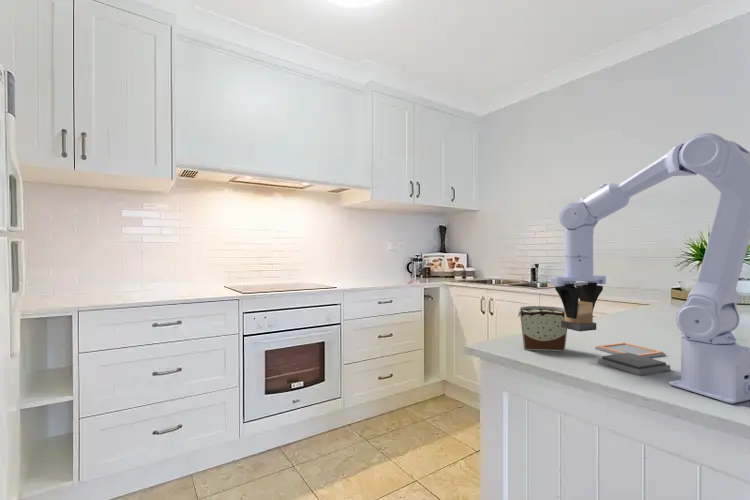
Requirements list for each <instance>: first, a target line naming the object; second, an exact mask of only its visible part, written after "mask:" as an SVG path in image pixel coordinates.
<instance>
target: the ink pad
mask: <svg viewBox="0 0 750 500" xmlns="http://www.w3.org/2000/svg"><path fill="white" fill-rule="evenodd" d="M597 359H598V360H597V362H598V364H601V365H605V366H607V367H611V368H615V369H618V370H621V371H624V372H626V373H631V374H634V375H637V376H645V375H649V374H651V375H652V374H655V373H660V372H661V373H662V372H667V371H671V365H670V364H667V363H666V361H661V360H659V359H654V358H647V357H643V356H639V355H635V354H632V353H621V354H608V355H602V356H601V357H598V358H597Z"/></svg>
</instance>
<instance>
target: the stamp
mask: <svg viewBox="0 0 750 500" xmlns="http://www.w3.org/2000/svg"><path fill="white" fill-rule="evenodd" d="M563 309H564V308H563ZM593 313H594V309H593V303H591V302H584V301H580V300H578V309H577V317H576V318H575V319H573V318H568V317H567V316H566V313H565V309H564V321H561V327H562V328H566V329H567V330H572V331H576V332H587V331H597V323H596V322H594V321H593V320H594V319H593V316H594V314H593Z"/></svg>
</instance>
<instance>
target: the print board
mask: <svg viewBox="0 0 750 500" xmlns="http://www.w3.org/2000/svg"><path fill="white" fill-rule="evenodd" d="M594 349H595V350H598V351H600V352H601V351H602V352H606V353H609V354H611V355H614V354H621V353H632V354H635V355H639V356H643V357H647V358H651V359H653V358H655V357H656V358H658V357H663V356H666V353H665V352H664V351H663V350H662V351H661V350H657V349H652V348H648V347H645V346H640V345H636V344H633V343H632V344H631V343H628V342H616V343H610V344H602V345H601V344H600V345H596V346H595V347H594Z"/></svg>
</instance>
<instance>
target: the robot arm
mask: <svg viewBox="0 0 750 500" xmlns="http://www.w3.org/2000/svg"><path fill="white" fill-rule="evenodd" d="M697 175H700V176H702V177H703V178H705V179H706V180H707V181H708V182H709V183H710V184H712V185H713V187H715V188H716V189H717V190H718V191H719V192H720V196H719V199H718V203H717V207H716V211H715V215H714V217H713V220H712V221H713V222H712V224H711V230H710V232H709V237H708V241H707V245H706V247H705V251H704V255H703V259H702V263H701V265H700V269H699V270H700V271H699V274H698V278H697V280H696V281H697V282H696V283H695V285H694V286H693V287H692V289H691V290H690V292H689V293H688V295H687V299H686V301H685V303H684V304H683V305H682V306H681V307H679V309H678V310H677V311H676V314H675V322H676V326H677V327H678V329H679V330H680V332H681V334H680V335H681V336H680V337H681V338H680V339H681V340H680V341H681V342H680V350H681V351H680V352H681V353H680V355H681V356H680V357H681V358H680V362H681V363H680V369H681V370H680V377H681V378H680V379H677V380H672V381H669V382H668V383H669V385H670V386H674V387H677V388H680V389H683V390H686V391H690V392H693V393H696V394H699V395H702V396H706V397H709V398H712V399H716V400H717V401H722V402H724V403H728V404H731V405H732V404H737V403H742V402H746V401H750V347H747V346H743V345H741V344H739V343H737V342H736V340H737V338H736V337H735V335H734V333H732V332H733V331H734V330H736V329H737V328H738V326H739V323H740V319H741V318H740V315H739V312H738V308H737V305H738V301H739V295H738V291H737V286H738V282H739V279H740V276H741V272H742V268H743V264H744V262H745V259H746V254H747V251H748V247H749V246H750V245H749V244H750V151H749V150H747V149H746V148H745V147H743V146H742V145H740V144H738V143H737V142H735V141H732V140H728V139H725V138H724V137H722V136H720V135H719V134H715V133H711V132H704V133H699V134H697V135H693V136H692V137H691V138H689V139H688V140H686V141H685V143H684V142H682V143H679V144H678V145H675V146H673V147H672V148H671V149H670V150H669V151H668V152H667V153H665V154H664V155H662V156H661V157H659V158H658V159H656V160H655V161H654V162H652V163H650V164H649V165H647V166H645V167H644V168H642V169H641V170H640V171H638V172H636V173H634V174H633V175H632V176H630V177H628V178H627V179H625V180H624V181H622V182H621V183H614V182H610V183H608V184H607V183H603V184H601V185H598V188H599V189H597V190H596V191H594V192H593V193H591V194H589V195H588V196H586V197H584V196H583V197H581V198H580V199H579V202H568V203H566V205H565V206H563V207H562V208H561V210H560V211H559V217H558V218H559V222H560V224H561V225H562V227H563V228H564V275H563V274H562V275H560V276H552V277H550V286H551V287H555V291H556V292H557V294H558V295H559V298H560V300H561V302H562V305H563V309H565V313H566V316H567V317H568V318H573V319H575V318H576V317H577V309H578V301H584V302H591V303H593V310H594V308H595V305H596V303H597V300H598V298H599V297H600V294H601V293H602V292H603V290H604V285H606V284H607V283H606V282H607V277H606V275H599V274H598V275H597V274H596V275H594V228H595V227H596V225H597V224H598V222H599V221H601V220H603V219H604V218H606V217H608V216H610V215H612V214H614V213H616V212H618V211H620V210H622V209H624V208H625V207H627V206H628V204H629V202H630V199H631V198H632V197H634V196H635V195H638V194H639V193H642V192H644V191H646V190H648V189H650V188H652V187H653V186H656V185H658V184H660V183H662V182H664V181H666V180H668V179H670V178H672V177H681V176H682V177H685V176H697Z"/></svg>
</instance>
